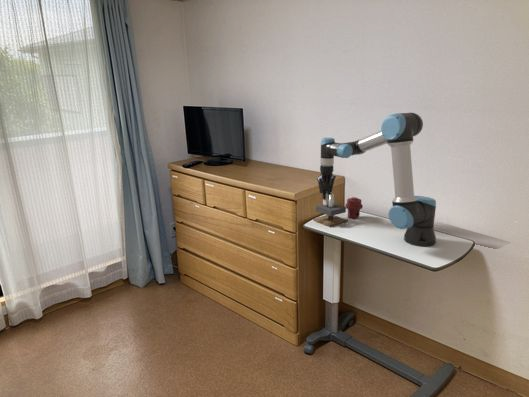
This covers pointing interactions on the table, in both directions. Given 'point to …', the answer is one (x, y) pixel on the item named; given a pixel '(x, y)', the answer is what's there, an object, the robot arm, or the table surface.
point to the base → (330, 223)
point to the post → (331, 204)
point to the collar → (331, 209)
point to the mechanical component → (353, 207)
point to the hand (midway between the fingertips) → (325, 204)
